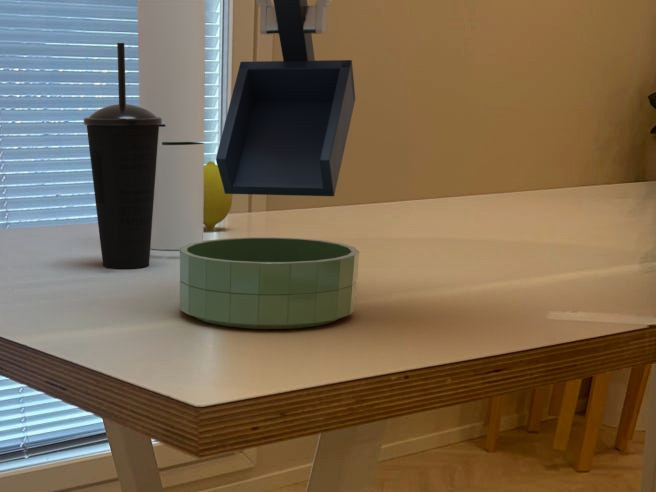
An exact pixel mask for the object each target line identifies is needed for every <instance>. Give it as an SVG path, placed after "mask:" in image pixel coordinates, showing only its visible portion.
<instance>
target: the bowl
mask: <svg viewBox="0 0 656 492" xmlns="http://www.w3.org/2000/svg"><path fill="white" fill-rule="evenodd" d="M359 258H360V251H359V250H358V249H357V248H356V247H355V246H352V245H348V244H345V243H341V242H335V241H328V240H323V239H313V238H312V239H311V238H301V237H299V238H298V237H275V236H274V237H271V236H270V237H262V236H261V237H260V236H257V237H256V236H255V237H253V236H252V237H227V238H217V239H208V240H203V241H201V242H195V243H190V244H188V245H185V246H183V247H181V248H180V250H179V310H180V311H182V312H183V313H184V314H186V315H188V316H191V317H194V318H195V319H197V320H199V321H202V322H205V323H208V324H212V325H217V326H222V327H228V328H229V327H230V328H235V329H236V328H238V329H249V330H293V329H304V328H311V327H318V326H319V327H320V326H323V325H328V324H330V323H334V322H336V321H338V320H339V319H342V318H345V317H347V316H350V315H351V314H352V313H353V312H354V311H355V309H356V297H357V285H358V272H359V261H360V259H359Z"/></svg>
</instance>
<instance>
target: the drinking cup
mask: <svg viewBox="0 0 656 492" xmlns="http://www.w3.org/2000/svg"><path fill="white" fill-rule="evenodd" d="M116 47H117V82H118V83H117V88H118V104H111V105H107V106H105V107H102V108H100V109H97V110H95V112H93V113H92V114H91V115H89V116H88V117H84V118H83V125H85V126H86V133H87V141H88V148H89V149H88V150H89V157H90V166H91V174H92V175H91V176H92V182H93V191H94V193H93V194H94V201H95V208H96V209H95V210H96V218H97V225H98V226H97V227H98V233H99V235H98V236H99V244H100V251H101V260H102V266H103V267H105V268H110V269H120V270H121V269H126V270H127V269H140V268H145V267H148V266H149V265H150V259H151V249H150V245H151V231H152V217H153V203H154V189H155V175H156V161H157V146H158V132H159V125H160V124H162V119H161V118H160V117H156V116H155V115H154V114H152V113H151V112H149V111H148V110H146V109H144V108H141V107H139V105H134V104H129V103H128V104H127V97H126V95H127V93H126V92H127V91H126V55H125V51H126V49H125V42H117V45H116Z"/></svg>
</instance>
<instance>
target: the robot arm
mask: <svg viewBox="0 0 656 492" xmlns="http://www.w3.org/2000/svg"><path fill="white" fill-rule="evenodd" d="M255 2H256V4H257V6H258V8H259V32H260V35H265V36H266V35H268V36H269V35H270V36H271V35H279V31H278V25H277V19H276V13H275V7H274V3H273V2H272V0H255ZM332 3H333V0H316V2H315V4H314V5H308V6H304V18H305V19H306V20H305V21H304V26H303V31H304V33H306V34H311V35H313V34H315V35H318V34H319V35H320V34H321V35H322V34H323V35H324V34H326V33H327V28H328V27H327V26H328V25H327V23H328V9H329V8H328V7H330V6H331V4H332Z"/></svg>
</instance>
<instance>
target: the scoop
mask: <svg viewBox="0 0 656 492" xmlns="http://www.w3.org/2000/svg"><path fill="white" fill-rule="evenodd" d="M273 6H274V7H275V13H276V19H277V25H278V31H279V34H278V37H279V42H280V48H281V55H282V60H266V61H265V60H261V61H260V60H257V61H254V60H253V61H240V63H239V66H238V70H237V75H236V77H235V82H234V86H233V89H232V94H231V98H230V102H229V106H228V109H227V113H226V118H225V121H224V125H223V129H222V133H221V138H220V141H219V144H218V148H217V153H216V156H215V161H216V165H217V166H218V169H219V173H220V177H221V180H222V184H223V188H224V192H225V194H232V195H256V196H257V195H261V196H262V195H263V196H295V197H296V196H302V197H303V196H304V197H335V194H336V189H337V185H338V180H339V177H340V173H341V172H340V171H341V168H342V163H343V157H344V154H345V149H346V143H347V141H348V140H347V139H348V135H349V130H350V126H351V121H352V116H353V111H354V107H355V102H356V91H355V79H354V69H353V60H352V59H342V60H341V59H330V60H329V59H328V60H326V59H325V60H316V59H315V51H314V43H313V36H312V35H313V34H306V33H304V31H303V26H304V21H305V20H306V19H305V18H304V6H309V4H308V0H273Z"/></svg>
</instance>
